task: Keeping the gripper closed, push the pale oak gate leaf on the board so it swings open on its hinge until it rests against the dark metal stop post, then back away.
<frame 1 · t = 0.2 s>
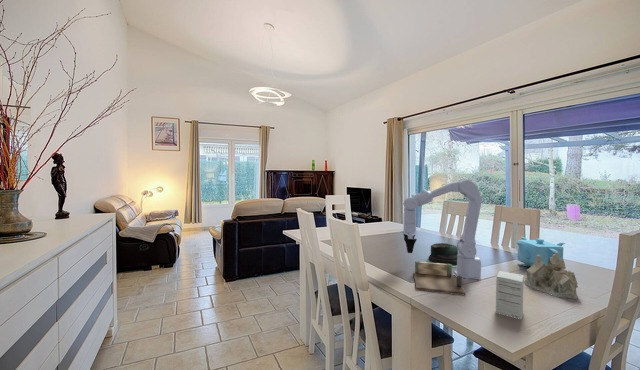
hand: (409, 250, 136), 10 cm above the table, tool pointing down, fingers open, 7 cm apart
supplement box: (509, 312, 96), on the table
teakettle: (537, 267, 143), on the table
ceramic cottage: (549, 289, 116), on the table
gate leaf: (433, 268, 128), point 4 cm above the table, hinge at 0.0°
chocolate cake: (444, 262, 152), on the table
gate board: (436, 282, 121), on the table
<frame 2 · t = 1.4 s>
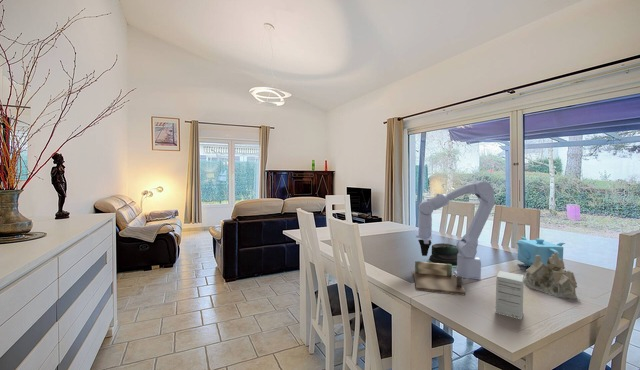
hand: (424, 255, 134), 8 cm above the table, tool pointing down, fingers closed
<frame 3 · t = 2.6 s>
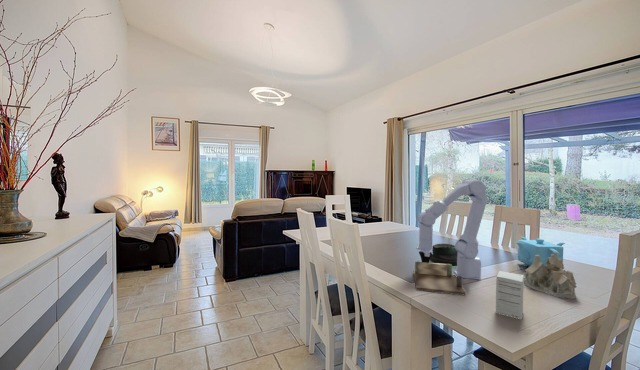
hand: (425, 267, 131), 3 cm above the table, tool pointing down, fingers closed
gate leaf: (433, 268, 128), point 4 cm above the table, hinge at 1.7°, touching gripper
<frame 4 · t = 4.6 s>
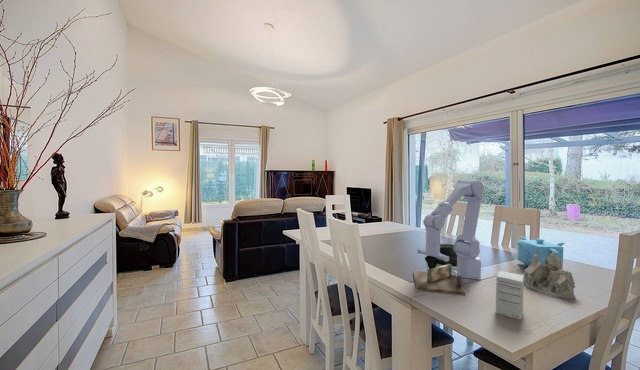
hand: (431, 273, 123), 3 cm above the table, tool pointing down, fingers closed
gate leaf: (439, 272, 123), point 4 cm above the table, hinge at 46.1°, touching gripper
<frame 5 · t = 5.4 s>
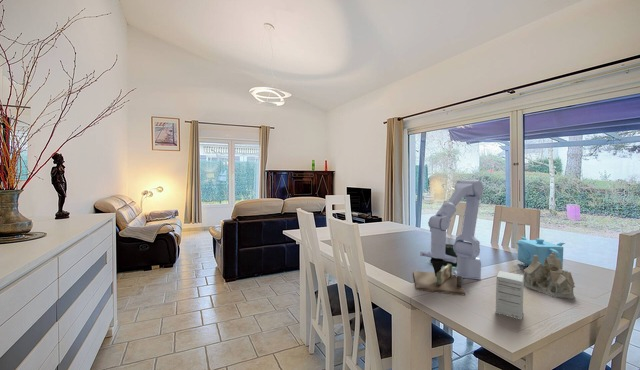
hand: (437, 275, 120), 3 cm above the table, tool pointing down, fingers closed
gate leaf: (444, 274, 121), point 4 cm above the table, hinge at 63.5°, touching gripper
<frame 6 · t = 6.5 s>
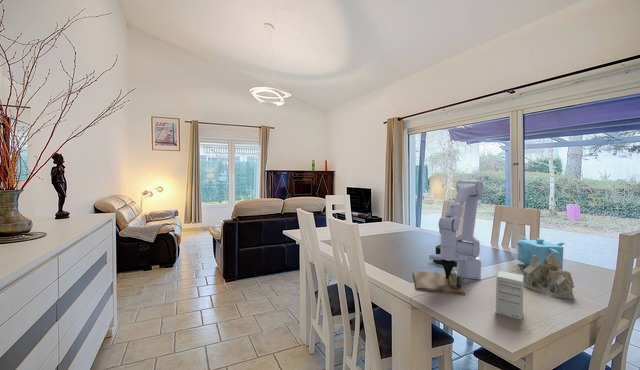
hand: (447, 278, 118), 3 cm above the table, tool pointing down, fingers closed
gate leaf: (451, 275, 120), point 4 cm above the table, hinge at 87.1°, touching gripper
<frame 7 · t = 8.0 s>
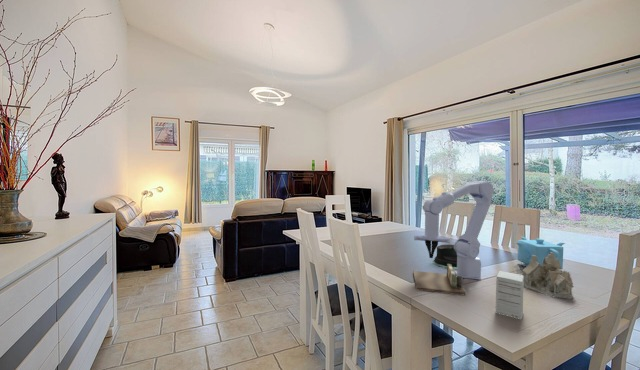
hand: (431, 257, 126), 9 cm above the table, tool pointing down, fingers closed
gate leaf: (451, 275, 120), point 4 cm above the table, hinge at 87.2°
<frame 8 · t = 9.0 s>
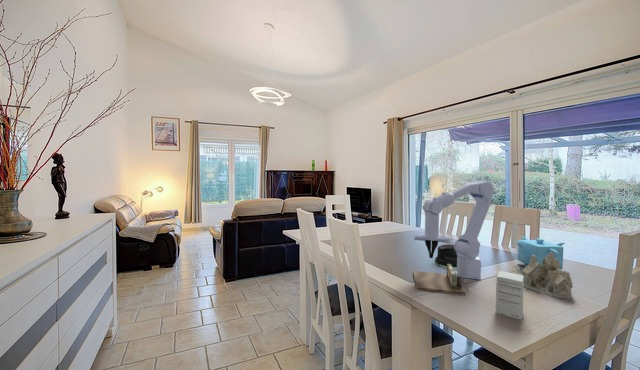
hand: (431, 257, 126), 9 cm above the table, tool pointing down, fingers closed
at the end: gate leaf at +87° (first picture: +0°); supplement box moved 0.2 cm from its start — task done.
